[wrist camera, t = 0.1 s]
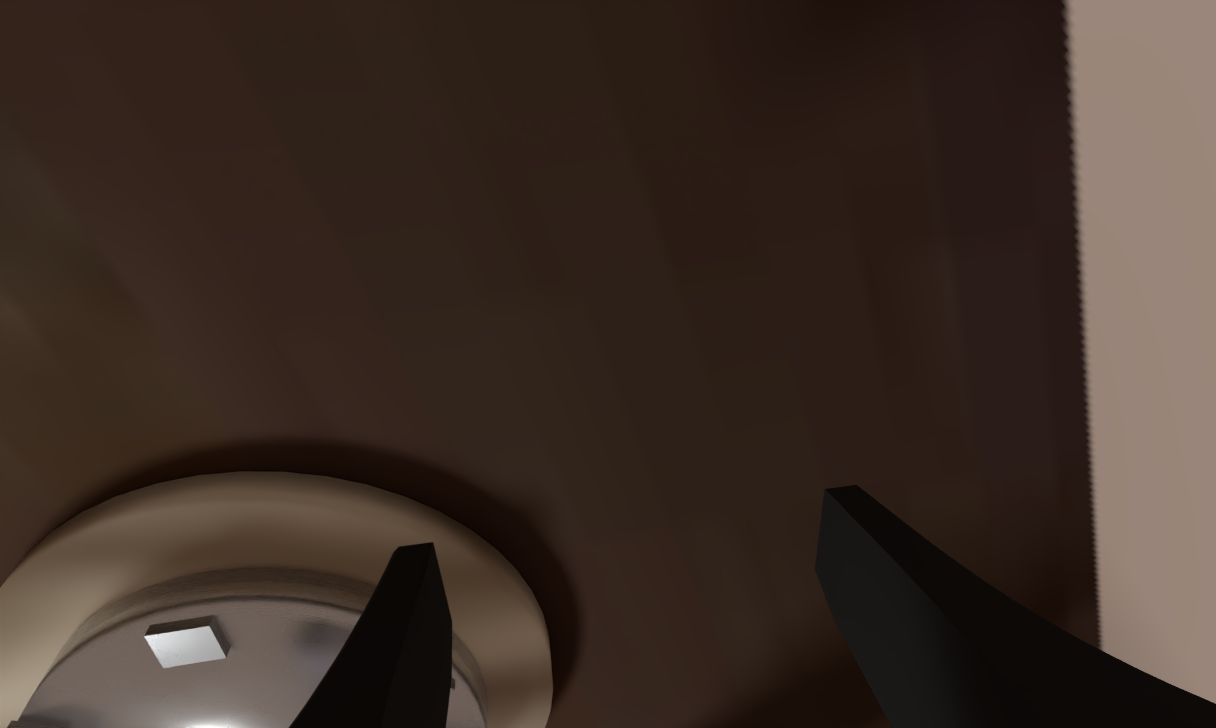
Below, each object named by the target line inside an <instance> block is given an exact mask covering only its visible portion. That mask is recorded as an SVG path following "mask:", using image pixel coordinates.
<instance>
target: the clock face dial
mask: <svg viewBox="0 0 1216 728" xmlns="http://www.w3.org/2000/svg"><path fill="white" fill-rule="evenodd" d="M375 589H376V586H373V585H371V584H368V583H365V582H361V581H357V580H354V579H350V578H346V577H342V576H338V575H333V574H327V573H321V572H315V571H309V570H301V569H287V568H274V567H265V568H234V569H224V570H215V571H206V572H201V573H196V574H192V575H187V576H182V577H177V578H173V579H170V580H167V581H164V582H160V583H157V584H154V585H151V586H148V587H145V588H143V589H141V590H138V591H136V592H134V593H132V594H129V595H127V596H125V597H123V598H120V599H119V600H117V601H115V602H114V603H112V604H110V605H109V606H107V607H105V608H104V609H102V610H100V611H99V612H97V613H96V614H95V615H93V616H92V617H91V618H90V619H89V620H87V621H86V622H85V623H84V624H83V625H81V626H80V627H79V628H78V629H77V630H76V631H75V632H74V634H73V635H72V636H71V637H70V638H69V639H68V641H67V642H66V643H65V644H64V645H63V647H62V648H61V650H60V652H59V653H58V655H57V656H56V658H55V660H54V661H53V663H52V664H51V666H50V668H49V669H48V671H47V672H46V674H45V676H44V677H43V679H42V680H41V682H40V684H39V685H38V687H37V688H36V690H35V692H34V693H33V695H32V696H31V698H30V700H29V701H28V703H27V705H26V707H25V708H24V710H23V712H22V714H21V715H20V717H19V719H18V721H13V720H11V722H10V724H9V725H8V727H7V728H289V726H290V725H291V724H292V722H293V721H294V720H295V718H296V717H297V715H298V714H299V713H300V711H301V710H302V708H303V707H304V706H305V704H306V703H307V701H308V700H309V698H310V697H311V695H312V694H313V692H314V691H315V689H316V688H317V686H318V685H319V683H320V682H321V680H322V679H323V677H324V675H325V674H326V672H327V671H328V669H329V668H330V666H331V665H332V663H333V662H334V660H335V659H336V657H337V655H338V654H339V652H340V650H341V649H342V647H343V645H344V644H345V642H346V640H347V639H348V637H349V635H350V633H351V632H352V630H353V628H354V627H355V625H356V623H357V621H358V620H359V618H360V616H361V614H362V613H363V611H364V609H365V607H366V605H367V603H368V602H369V600H370V598H371V596H372V594H373V592H374V590H375ZM446 728H488V696H487V689H486V683H485V680H484V677H483V674H482V672H481V669H480V666H479V664H478V663H477V661H476V660H475V658H474V656H473V655H472V653H471V651H470V650H469V648H468V647H467V646H466V645H465V644H464V643H463V641H462V640H461V639H460V638H459V637H458V636H457V634H456V633H455V632H453V631H452V680H451V689H450V697H449V706H448V714H447V723H446Z"/></svg>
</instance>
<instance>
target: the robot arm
mask: <svg viewBox="0 0 1216 728" xmlns="http://www.w3.org/2000/svg"><path fill="white" fill-rule="evenodd" d="M815 571H816V573H817V576H818V579H819V581H820V584H821V587H822V590H823V592H824V595H825V598H826V600H827V603H828V605H829V608H830V610H831V613H832V615H833V618H834V620H835V622H836V624H837V626H838V628H839V630H840V632H841V634H842V635H843V637H844V639H845V641H846V643H847V645H848V647H849V649H850V651H851V652H852V654H853V656H854V658H855V660H856V662H857V664H858V666H859V667H860V669H861V671H862V673H863V675H864V677H865V679H866V680H867V682H868V684H869V686H870V688H871V690H872V692H873V693H874V695H875V697H876V699H877V701H878V703H879V705H880V706H881V708H882V710H883V712H884V714H885V716H886V718H887V719H888V721H889V723H890V725H891V727H892V728H1216V704H1215V703H1212V702H1210V701H1208V700H1205V699H1203V698H1201V697H1199V696H1196V695H1194V694H1192V693H1190V692H1187V691H1185V690H1182V689H1180V688H1178V687H1176V686H1173V685H1171V684H1169V683H1166V682H1165V681H1162V680H1160V679H1158V678H1156V677H1154V676H1152V675H1150V674H1147V673H1145V672H1143V671H1141V670H1139V669H1137V668H1135V667H1133V666H1131V665H1129V664H1127V663H1125V662H1123V661H1121V660H1119V659H1117V658H1115V657H1113V656H1111V655H1109V654H1107V653H1105V652H1103V651H1101V650H1099V649H1097V648H1095V647H1093V646H1091V645H1090V644H1088V643H1086V642H1084V641H1082V640H1080V639H1078V638H1077V637H1075V636H1073V635H1071V634H1069V633H1068V632H1066V631H1064V630H1062V629H1061V628H1059V627H1057V626H1056V625H1054V624H1052V623H1050V622H1049V621H1047V620H1045V619H1044V618H1042V617H1040V616H1038V615H1037V614H1035V613H1033V612H1032V611H1030V610H1028V609H1027V608H1025V607H1023V606H1022V605H1020V604H1019V603H1017V602H1015V601H1014V600H1012V599H1011V598H1009V597H1007V596H1006V595H1004V594H1003V593H1001V592H1000V591H998V590H997V589H995V588H994V587H992V586H991V585H990V584H988V583H987V582H985V581H984V580H982V579H981V578H979V577H978V576H976V575H975V574H973V573H972V572H970V571H969V570H968V569H966V568H965V567H963V566H962V565H960V564H959V563H958V562H956V561H955V560H953V559H952V558H951V557H949V556H948V555H947V554H945V553H944V552H943V551H941V550H940V549H939V548H937V547H936V546H934V545H933V544H932V543H930V542H929V541H928V540H927V539H925V538H924V537H923V536H921V535H920V534H919V533H917V532H916V531H915V530H913V529H912V528H911V527H910V526H908V525H907V524H906V523H905V522H903V521H902V520H901V519H899V518H898V517H897V516H896V515H894V514H893V513H892V512H890V511H889V510H888V509H887V508H885V507H884V506H883V505H882V504H880V503H879V502H878V501H877V500H875V499H874V498H873V497H871V496H870V495H869V494H868V493H866V492H865V491H864V490H862V489H861V488H860V487H858V486H857V485H853V486H845V487H838V488H830V489H825V492H824V500H823V508H822V516H821V524H820V532H819V540H818V548H817V556H816V564H815ZM451 680H452V618H451V614H450V610H449V606H448V602H447V597H446V593H445V589H444V585H443V581H442V577H441V572H440V568H439V564H438V560H437V556H436V551H435V547H434V543H433V542H429V543H422V544H414V545H407V546H399V547H398V548H397V549H396V550H395V551H394V552H393V554H392V556H391V558H390V560H389V562H388V565H387V567H386V569H385V571H384V573H383V575H382V577H381V579H380V581H379V583H378V585H377V587H376V589H375V590H374V592H373V594H372V596H371V598H370V600H369V602H368V603H367V605H366V607H365V609H364V611H363V613H362V614H361V616H360V618H359V620H358V621H357V623H356V625H355V627H354V628H353V630H352V632H351V633H350V635H349V637H348V639H347V640H346V642H345V644H344V645H343V647H342V649H341V650H340V652H339V654H338V655H337V657H336V659H335V660H334V662H333V663H332V665H331V666H330V668H329V669H328V671H327V672H326V674H325V675H324V677H323V679H322V680H321V682H320V683H319V685H318V686H317V688H316V689H315V691H314V692H313V694H312V695H311V697H310V698H309V700H308V701H307V703H306V704H305V706H304V707H303V708H302V710H301V711H300V713H299V714H298V715H297V717H296V718H295V720H294V721H293V722H292V724H291V725H290V726H289V728H446V723H447V714H448V706H449V697H450V689H451Z"/></svg>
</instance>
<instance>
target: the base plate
mask: <svg viewBox="0 0 1216 728" xmlns="http://www.w3.org/2000/svg"><path fill="white" fill-rule="evenodd" d="M429 542H433V543H434V547H435V551H436V556H437V560H438V564H439V568H440V572H441V577H442V581H443V585H444V589H445V593H446V597H447V602H448V606H449V610H450V614H451V618H452V631H453V632H455V633H456V634H457V636H458V637H459V638H460V639H461V640H462V641H463V643H464V644H465V645H466V646H467V647H468V648H469V650H470V651H471V653H472V655H473V656H474V658H475V660H476V661H477V663H478V664H479V666H480V669H481V672H482V674H483V677H484V680H485V683H486V689H487V696H488V728H545V726H546V723H547V720H548V717H549V714H550V711H551V703H552V694H553V680H552V667H551V654H550V642H549V633H548V630H547V626H546V623H545V619H544V616H543V612H542V610H541V608H540V606H539V604H538V602H537V600H536V598H535V596H534V594H533V592H532V590H531V589H530V587H529V586H528V585H527V583H526V582H525V580H524V579H523V578H522V576H521V575H520V574H519V572H518V571H517V570H516V568H515V567H514V566H513V565H512V564H511V563H510V562H509V561H508V560H507V559H506V558H505V557H504V556H503V555H502V554H501V553H500V552H499V551H498V550H497V549H496V548H495V547H493V546H492V545H491V544H489V543H488V542H487V541H485V540H484V539H483V538H481V537H480V536H479V535H477V534H476V533H475V532H473V531H472V530H471V529H469V528H468V527H466V526H464V525H463V524H461V523H459V522H457V521H456V520H454V519H452V518H450V517H449V516H447V515H445V514H443V513H442V512H440V511H438V510H435V509H433V508H431V507H429V506H426V505H424V504H422V503H419V502H417V501H415V500H412V499H410V498H408V497H405V496H402V495H399V494H396V493H393V492H390V491H386V490H383V489H380V488H377V487H374V486H370V485H367V484H362V483H357V482H352V481H347V480H343V479H338V478H333V477H328V476H320V475H310V474H301V473H291V472H254V471H239V472H228V473H217V474H207V475H197V476H191V477H186V478H181V479H176V480H171V481H166V482H161V483H156V484H153V485H150V486H146V487H143V488H140V489H137V490H134V491H131V492H128V493H124V494H121V495H118V496H116V497H113V498H111V499H109V500H107V501H105V502H102V503H100V504H98V505H96V506H94V507H92V508H89V509H87V510H85V511H83V512H81V513H80V514H78V515H76V516H75V517H73V518H72V519H70V520H69V521H67V522H65V523H64V524H62V525H61V526H59V527H58V528H56V529H54V530H53V531H52V532H50V533H49V534H48V535H47V536H46V537H45V538H44V539H43V540H41V541H40V542H39V543H38V544H37V545H36V546H35V547H34V548H32V549H31V550H30V551H29V552H28V553H27V554H26V556H25V557H24V558H23V559H22V561H21V562H20V563H19V564H18V566H17V567H16V568H15V570H14V571H13V572H12V573H11V575H10V576H9V577H8V579H7V580H6V581H5V582H4V584H3V585H2V586H1V587H0V728H7V727H8V725H9V724H10V722H11V720H13V721H18V719H19V717H20V715H21V714H22V712H23V710H24V708H25V707H26V705H27V703H28V701H29V700H30V698H31V696H32V695H33V693H34V692H35V690H36V688H37V687H38V685H39V684H40V682H41V680H42V679H43V677H44V676H45V674H46V672H47V671H48V669H49V668H50V666H51V664H52V663H53V661H54V660H55V658H56V656H57V655H58V653H59V652H60V650H61V648H62V647H63V645H64V644H65V643H66V642H67V641H68V639H69V638H70V637H71V636H72V635H73V634H74V632H75V631H76V630H77V629H78V628H79V627H80V626H81V625H83V624H84V623H85V622H86V621H87V620H89V619H90V618H91V617H92V616H93V615H95V614H96V613H97V612H99V611H100V610H102V609H104V608H105V607H107V606H109V605H110V604H112V603H114V602H115V601H117V600H119V599H120V598H123V597H125V596H127V595H129V594H132V593H134V592H136V591H138V590H141V589H143V588H145V587H148V586H151V585H154V584H157V583H160V582H164V581H167V580H170V579H173V578H177V577H182V576H187V575H192V574H196V573H201V572H206V571H215V570H224V569H234V568H265V567H274V568H287V569H301V570H309V571H315V572H321V573H327V574H333V575H338V576H342V577H346V578H350V579H354V580H357V581H361V582H365V583H368V584H371V585H373V586H376V587H377V585H378V583H379V581H380V579H381V577H382V575H383V573H384V571H385V569H386V567H387V565H388V562H389V560H390V558H391V556H392V554H393V552H394V551H395V550H396V549H397V548H398V547H399V546H407V545H414V544H422V543H429Z"/></svg>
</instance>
